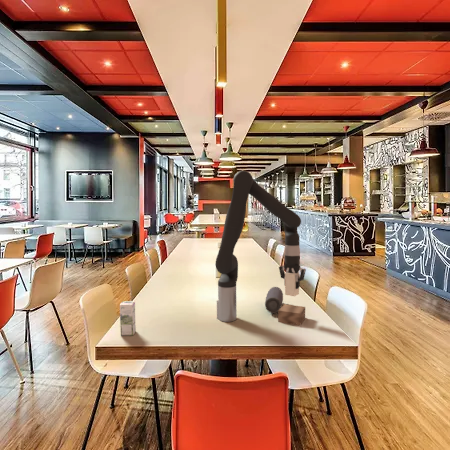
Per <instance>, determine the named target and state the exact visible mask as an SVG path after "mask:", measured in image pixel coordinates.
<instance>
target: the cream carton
mask: <svg viewBox="0 0 450 450" xmlns="http://www.w3.org/2000/svg"><path fill="white" fill-rule="evenodd" d="M284 273H285V280H284V295H285V296H290V297H296V296H298V295H299V294H300V287H299V288H298V289H296V277H295V274H293V273H286V272H284ZM296 275H298V273H297V274H296Z"/></svg>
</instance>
